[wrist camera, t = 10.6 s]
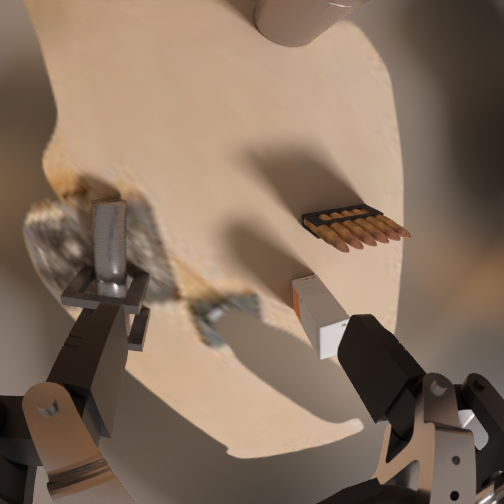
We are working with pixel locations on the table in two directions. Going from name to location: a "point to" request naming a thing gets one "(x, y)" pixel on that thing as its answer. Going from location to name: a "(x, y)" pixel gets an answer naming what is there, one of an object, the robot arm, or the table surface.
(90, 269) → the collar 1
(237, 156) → the table surface
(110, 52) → the table surface
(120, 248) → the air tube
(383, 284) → the table surface
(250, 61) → the table surface
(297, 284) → the skincare box
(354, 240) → the ammunition clip
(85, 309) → the dark grey rectangular frame
